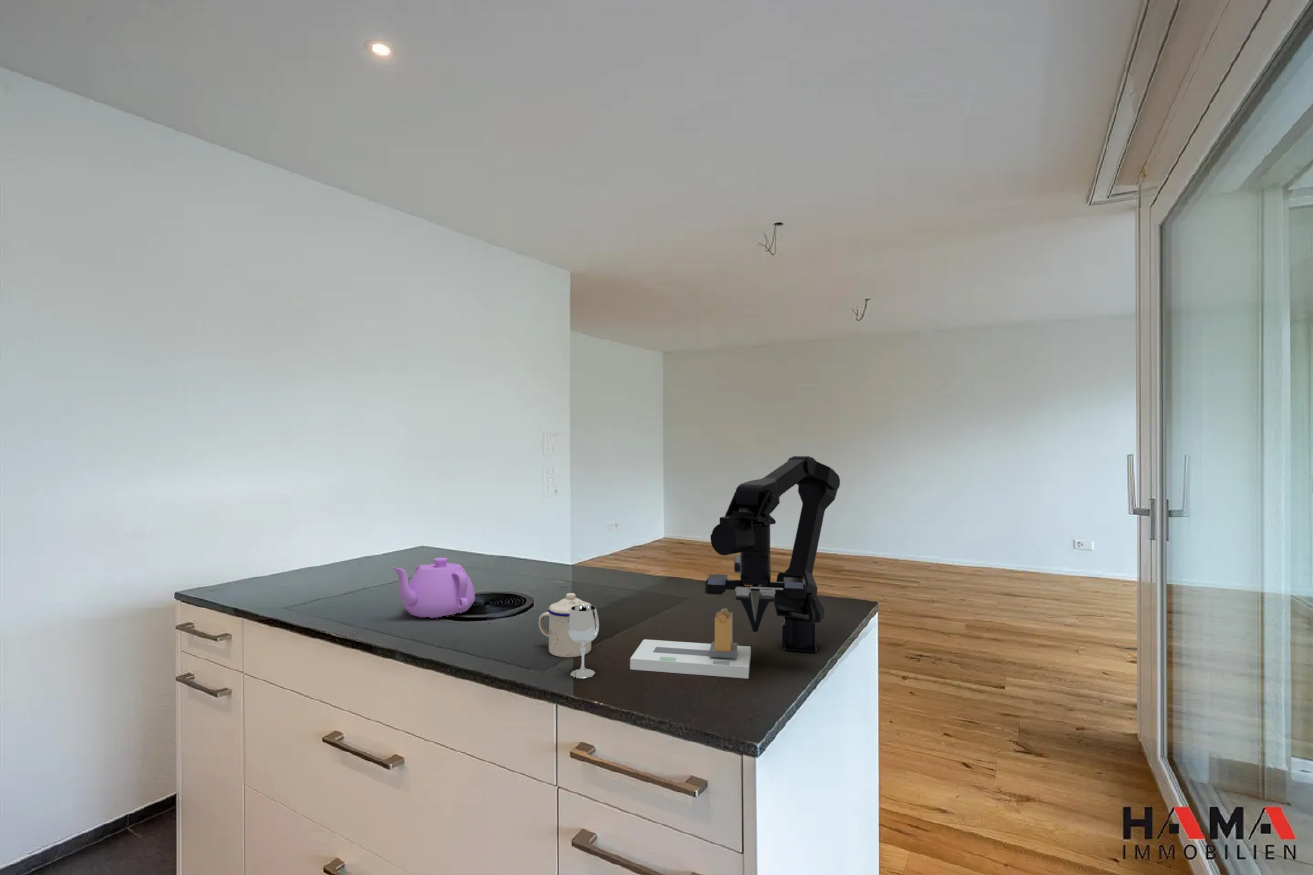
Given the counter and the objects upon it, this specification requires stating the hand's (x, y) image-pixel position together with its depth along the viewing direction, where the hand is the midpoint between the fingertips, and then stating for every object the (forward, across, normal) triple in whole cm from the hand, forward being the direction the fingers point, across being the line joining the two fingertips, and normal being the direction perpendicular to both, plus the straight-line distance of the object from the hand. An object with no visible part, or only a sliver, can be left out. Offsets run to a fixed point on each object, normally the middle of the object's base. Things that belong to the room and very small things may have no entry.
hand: (755, 631), depth 112 cm
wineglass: (+7, +31, +10) cm, 33 cm away
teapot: (+7, +81, -21) cm, 84 cm away
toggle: (+4, +6, 0) cm, 7 cm away
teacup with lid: (+7, +39, -2) cm, 40 cm away
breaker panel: (+7, +12, 0) cm, 14 cm away
